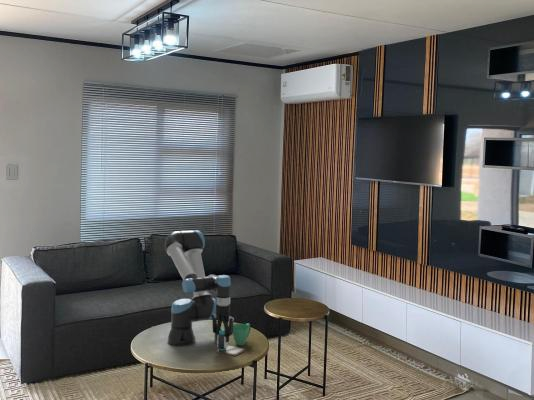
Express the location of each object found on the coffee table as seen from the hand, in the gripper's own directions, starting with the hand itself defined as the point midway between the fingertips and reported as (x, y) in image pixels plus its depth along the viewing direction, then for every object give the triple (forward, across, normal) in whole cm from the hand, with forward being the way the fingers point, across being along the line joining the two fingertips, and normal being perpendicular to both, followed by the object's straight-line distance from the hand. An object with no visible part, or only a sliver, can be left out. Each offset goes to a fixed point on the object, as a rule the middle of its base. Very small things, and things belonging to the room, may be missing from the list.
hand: (222, 346), depth 307 cm
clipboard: (+3, +3, +3) cm, 5 cm away
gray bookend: (+3, -8, +11) cm, 14 cm away
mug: (+3, +2, +18) cm, 19 cm away
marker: (+2, 0, 0) cm, 2 cm away
